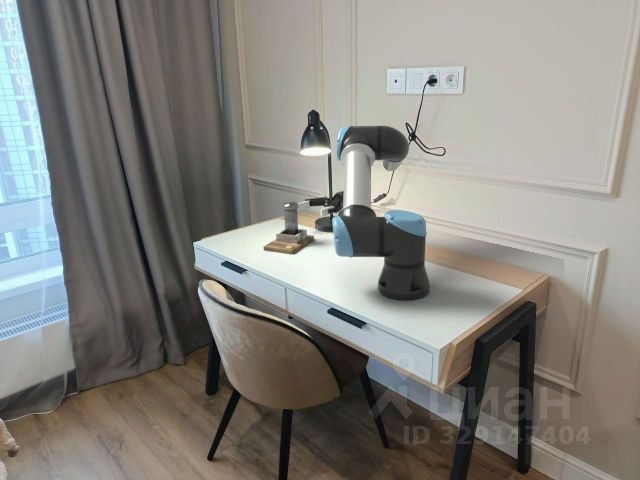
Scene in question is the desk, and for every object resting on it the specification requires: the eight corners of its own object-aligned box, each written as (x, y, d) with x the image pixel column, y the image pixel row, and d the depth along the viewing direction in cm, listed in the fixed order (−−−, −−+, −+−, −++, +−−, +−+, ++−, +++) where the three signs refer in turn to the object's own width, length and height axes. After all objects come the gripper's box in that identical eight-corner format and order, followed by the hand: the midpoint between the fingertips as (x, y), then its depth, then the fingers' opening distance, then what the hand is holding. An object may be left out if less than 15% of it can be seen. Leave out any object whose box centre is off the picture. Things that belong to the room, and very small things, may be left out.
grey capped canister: (295, 242, 181) (293, 206, 176) (281, 240, 183) (279, 204, 179) (302, 237, 186) (300, 202, 181) (289, 236, 188) (287, 201, 184)
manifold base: (292, 254, 173) (291, 242, 171) (263, 250, 178) (262, 238, 176) (314, 239, 188) (313, 228, 187) (287, 235, 193) (286, 225, 192)
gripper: (368, 213, 194) (332, 225, 180) (324, 203, 211) (288, 213, 197) (368, 195, 192) (331, 205, 178) (323, 186, 209) (287, 195, 195)
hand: (308, 210), depth 187 cm, fingers open, 13 cm apart
